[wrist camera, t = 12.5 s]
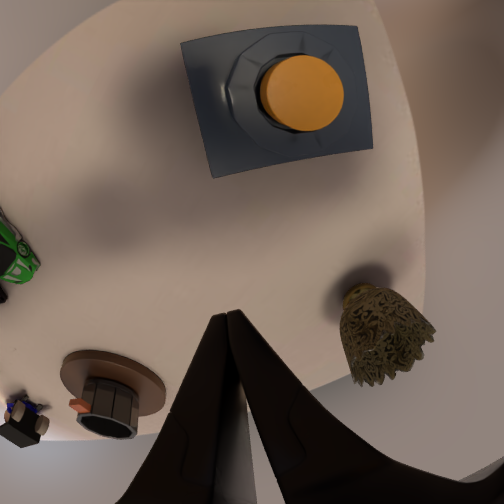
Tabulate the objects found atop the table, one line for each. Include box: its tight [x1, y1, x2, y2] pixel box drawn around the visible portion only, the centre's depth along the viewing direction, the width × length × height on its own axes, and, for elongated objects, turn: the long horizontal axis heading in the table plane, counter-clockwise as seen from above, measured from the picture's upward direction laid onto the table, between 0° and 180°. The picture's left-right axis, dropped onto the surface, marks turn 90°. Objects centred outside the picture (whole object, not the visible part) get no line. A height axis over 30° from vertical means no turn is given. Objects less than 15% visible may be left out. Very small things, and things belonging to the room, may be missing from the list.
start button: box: [260, 55, 344, 131], centre depth 11 cm, size 4×4×2 cm
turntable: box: [60, 350, 166, 417], centre depth 27 cm, size 13×13×1 cm
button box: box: [180, 25, 373, 179], centre depth 14 cm, size 10×8×4 cm
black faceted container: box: [69, 379, 139, 440], centre depth 24 cm, size 8×7×4 cm
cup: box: [340, 283, 436, 387], centre depth 22 cm, size 8×7×8 cm
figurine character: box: [0, 396, 49, 448], centre depth 28 cm, size 7×8×15 cm
